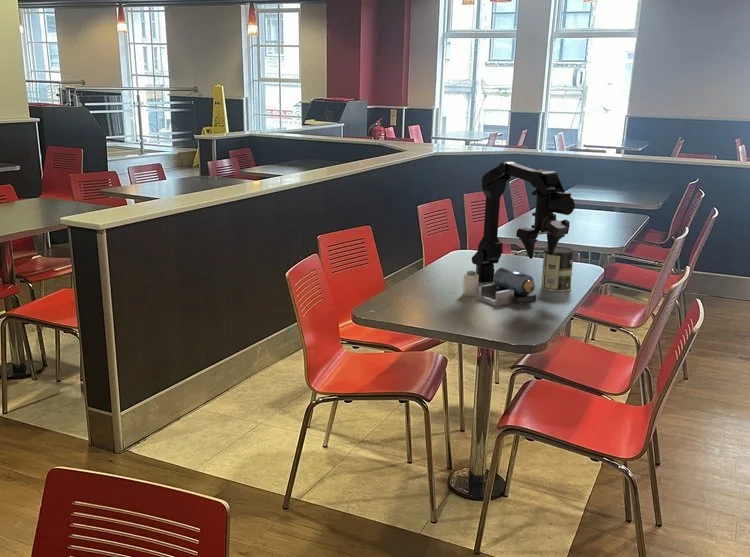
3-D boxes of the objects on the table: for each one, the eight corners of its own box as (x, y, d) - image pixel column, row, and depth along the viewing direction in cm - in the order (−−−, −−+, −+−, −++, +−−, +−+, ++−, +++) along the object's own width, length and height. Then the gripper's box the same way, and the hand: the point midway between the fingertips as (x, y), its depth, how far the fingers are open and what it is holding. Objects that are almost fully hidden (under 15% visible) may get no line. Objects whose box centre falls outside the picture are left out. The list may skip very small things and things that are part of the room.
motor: (471, 297, 235) (472, 271, 232) (506, 290, 243) (508, 265, 241) (502, 308, 223) (503, 281, 220) (538, 301, 231) (539, 275, 229)
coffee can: (569, 285, 250) (572, 247, 247) (571, 293, 241) (575, 253, 237) (540, 283, 252) (543, 245, 249) (541, 291, 243) (544, 251, 239)
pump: (460, 293, 239) (460, 270, 237) (471, 291, 242) (472, 268, 240) (469, 297, 235) (470, 274, 233) (480, 295, 238) (481, 272, 235)
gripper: (542, 216, 215) (538, 265, 219) (583, 211, 225) (579, 258, 229) (516, 211, 224) (513, 258, 228) (557, 206, 234) (553, 251, 238)
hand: (540, 256), depth 231 cm, fingers open, 9 cm apart
